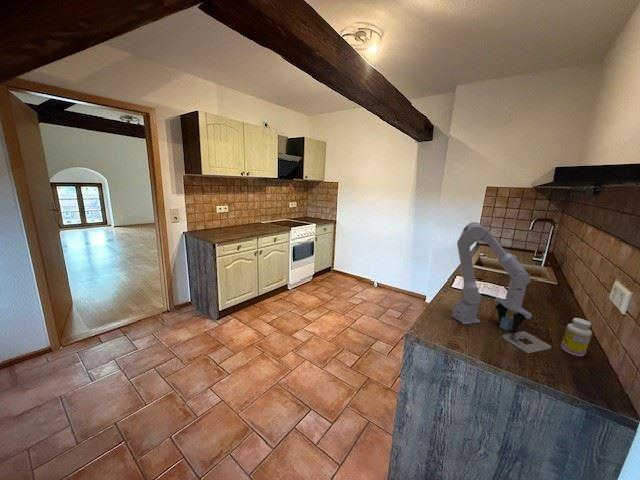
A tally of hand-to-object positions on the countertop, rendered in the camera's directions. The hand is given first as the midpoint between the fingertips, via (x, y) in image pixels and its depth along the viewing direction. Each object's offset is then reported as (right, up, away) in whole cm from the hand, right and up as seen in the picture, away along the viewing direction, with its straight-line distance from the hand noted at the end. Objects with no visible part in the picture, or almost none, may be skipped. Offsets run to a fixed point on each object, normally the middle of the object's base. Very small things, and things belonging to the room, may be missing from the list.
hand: (507, 324), depth 111 cm
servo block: (0, -1, 0) cm, 2 cm away
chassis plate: (0, -4, -10) cm, 11 cm away
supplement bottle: (+14, -6, -14) cm, 21 cm away
